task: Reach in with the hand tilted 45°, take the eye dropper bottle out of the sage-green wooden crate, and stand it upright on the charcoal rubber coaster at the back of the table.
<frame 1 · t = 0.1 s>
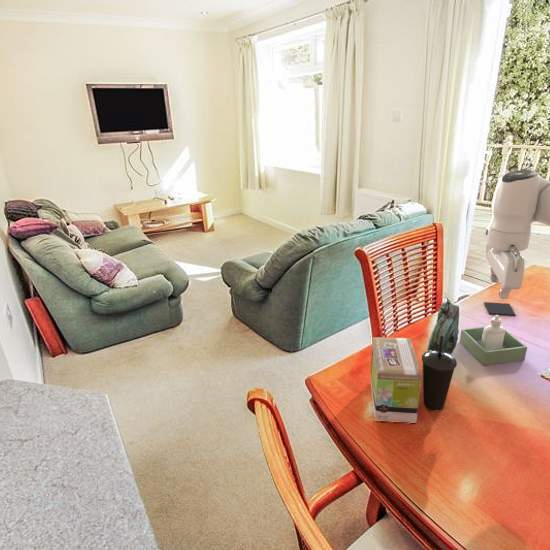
hand: (498, 289, 98), 23 cm above the table, tool pointing down, fingers open, 8 cm apart
drinking cup: (433, 404, 94), on the table
crate: (490, 350, 111), on the table
eye dropper bottle: (490, 350, 111), resting in crate
ceramic cat: (439, 368, 106), on the table
coaster: (499, 309, 132), on the table
tea box: (391, 401, 96), on the table
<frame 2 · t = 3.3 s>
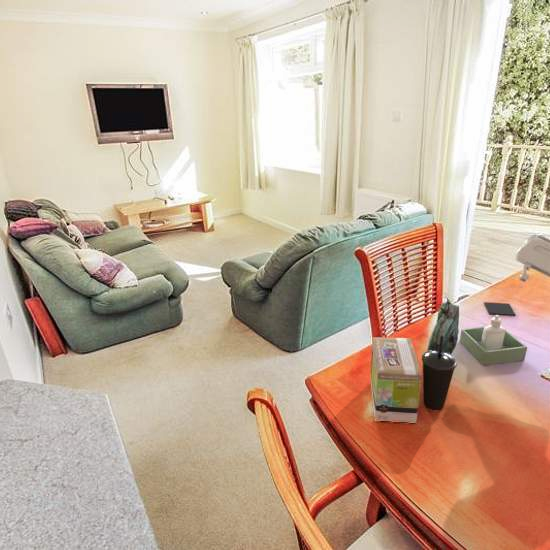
hand: (539, 289, 101), 21 cm above the table, tool tilted 45°, fingers open, 8 cm apart
nothing on the table moved.
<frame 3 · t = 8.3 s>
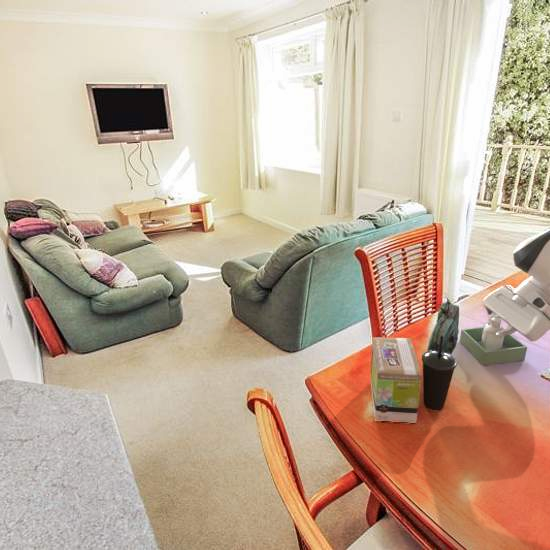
hand: (491, 332, 109), 7 cm above the table, tool tilted 45°, fingers closed on eye dropper bottle, 3 cm apart
eye dropper bottle: (490, 351, 111), resting in crate, touching gripper
everything else where it was.
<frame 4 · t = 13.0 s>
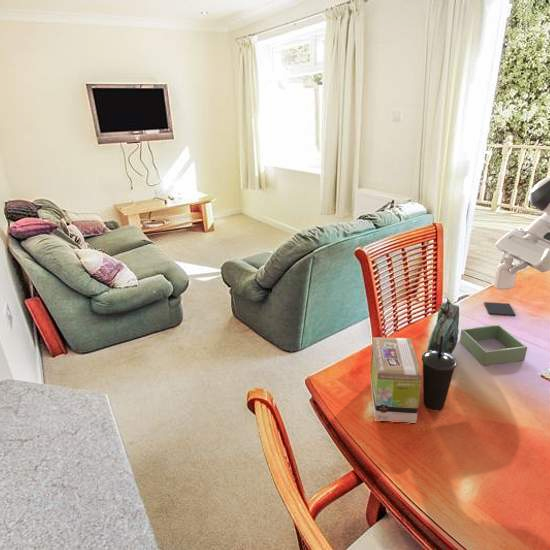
hand: (505, 269, 117), 19 cm above the table, tool tilted 45°, fingers closed on eye dropper bottle, 3 cm apart
eye dropper bottle: (503, 288, 120), point 12 cm above the table, touching gripper
everything else where it was.
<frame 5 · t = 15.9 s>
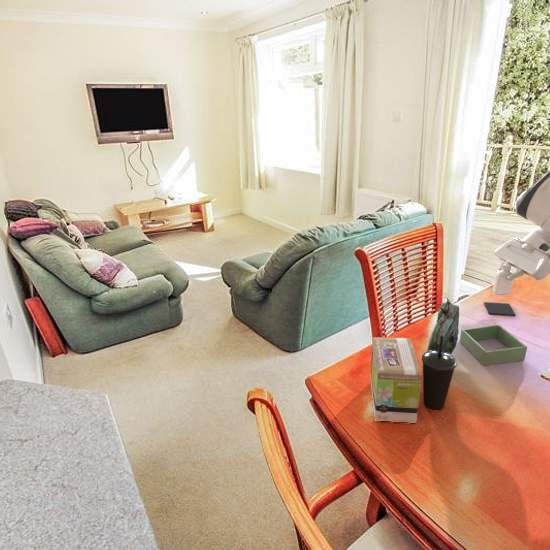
hand: (503, 276, 126), 13 cm above the table, tool tilted 45°, fingers closed on eye dropper bottle, 3 cm apart
eye dropper bottle: (501, 293, 129), point 6 cm above the table, touching gripper
everything else where it was.
when the fingers open (7 cm above the table, at t = 17.9 s): eye dropper bottle stays where it is, resting on coaster.
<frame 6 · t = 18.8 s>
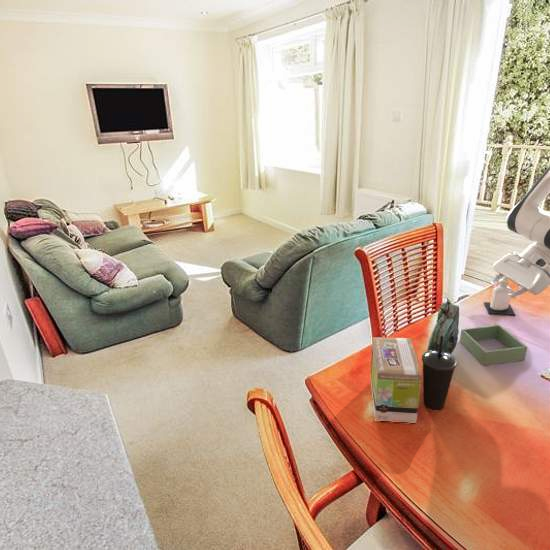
hand: (501, 290, 128), 8 cm above the table, tool tilted 45°, fingers open, 8 cm apart
eye dropper bottle: (498, 308, 132), resting on coaster
everything else where it was.
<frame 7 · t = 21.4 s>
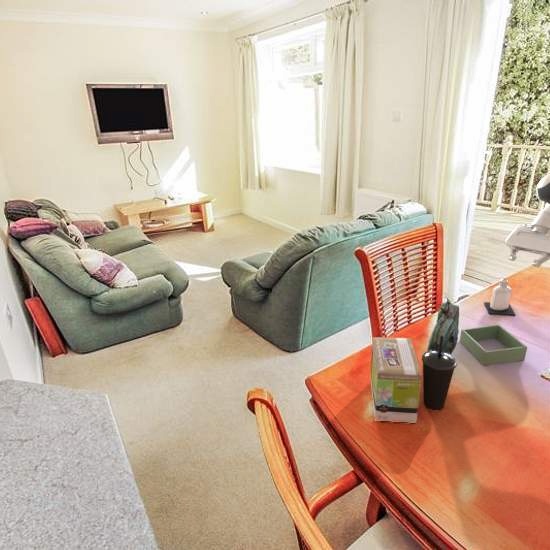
hand: (522, 262, 123), 18 cm above the table, tool tilted 40°, fingers open, 8 cm apart
nothing on the table moved.
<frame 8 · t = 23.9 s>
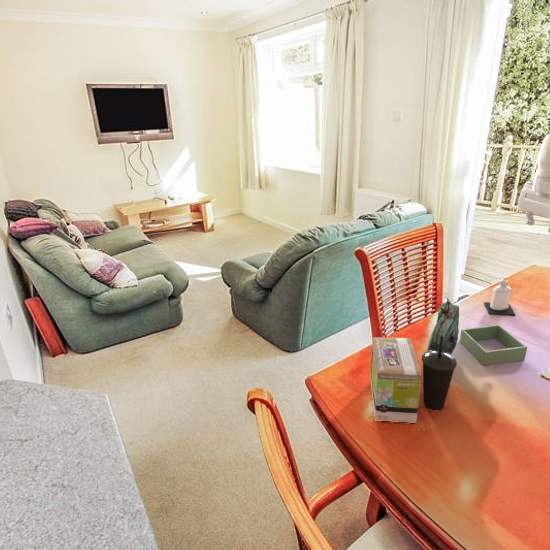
hand: (540, 228, 119), 29 cm above the table, tool pointing down, fingers open, 8 cm apart
nothing on the table moved.
at the end: eye dropper bottle inside the target area on the coaster (0.1 cm from its centre), point 0.3 cm above the coaster's base; eye dropper bottle tilted 0°; the gripper is holding nothing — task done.
